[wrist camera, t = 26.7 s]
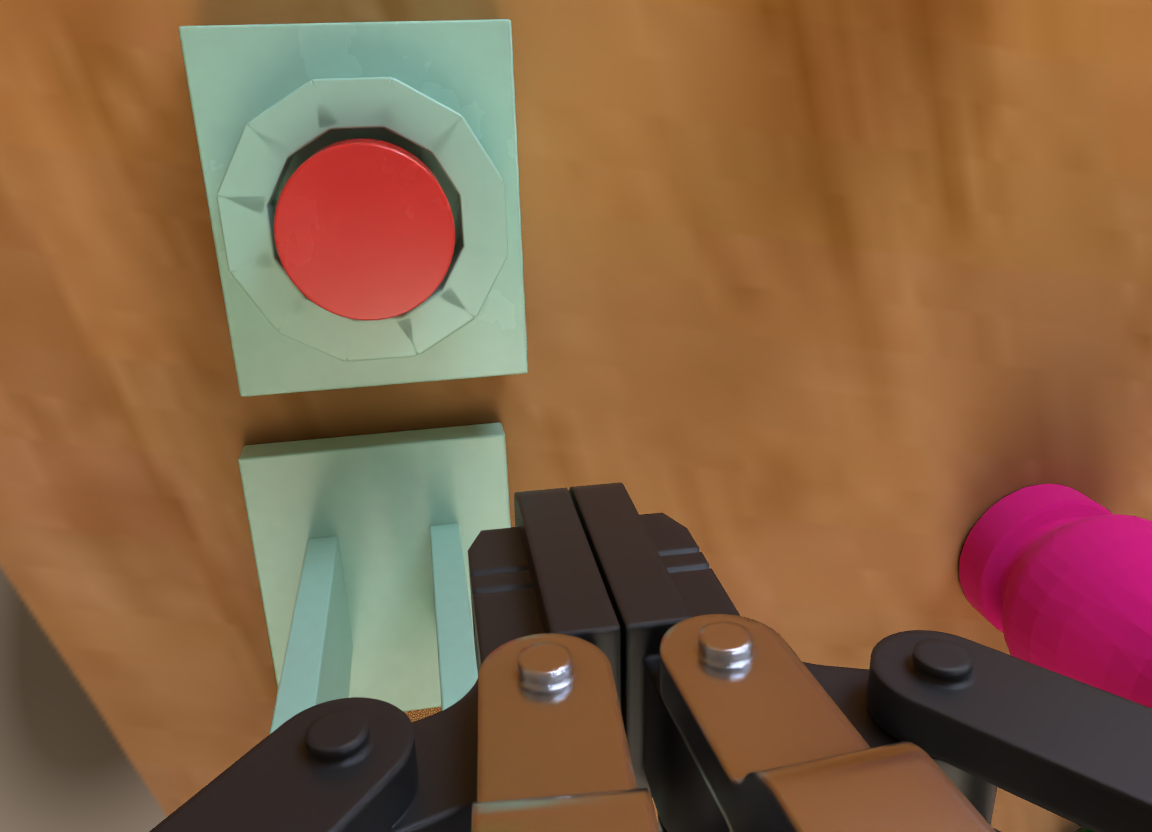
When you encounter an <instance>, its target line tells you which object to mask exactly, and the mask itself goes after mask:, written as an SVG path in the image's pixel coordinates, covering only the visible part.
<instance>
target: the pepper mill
mask: <svg viewBox="0 0 1152 832" xmlns="http://www.w3.org/2000/svg"><path fill="white" fill-rule="evenodd" d="M959 579H960V584H961V586H962V589H963V592H964V595H965V597H966V598H967V600H968V601H969V602H970V604H971V605H972V606H973V607H974V608H975V609H976V610H977V611H978V612H979V613H980V614H982V615H983V616H984V617H985V618H986V619H987V620H988V621H989V622H990V623H991V624H992V625H993V626H994V627H995V628H997V629H998V630H1000V631H1001V632H1003V633H1004V637H1005V641H1006V644H1007V646H1008V649H1009V651H1010V654H1011V655H1012V656H1013V657H1016V658H1019V659H1021V660H1024V661H1027V662H1029V663H1032V664H1035V665H1037V666H1040V667H1043V668H1045V669H1048V670H1051V671H1053V672H1056V673H1059V674H1061V675H1064V676H1067V677H1069V678H1072V679H1075V680H1077V681H1080V682H1083V683H1085V684H1088V685H1091V686H1093V687H1096V688H1099V689H1101V690H1104V691H1107V692H1110V693H1112V694H1115V695H1118V696H1120V697H1123V698H1126V699H1128V700H1131V701H1134V702H1136V703H1139V704H1142V705H1144V706H1147V707H1150V708H1152V522H1151V521H1149V520H1146V519H1142V518H1139V517H1136V516H1128V515H1116V514H1112V513H1111V512H1110V511H1109V510H1107V509H1106V508H1104V507H1103V506H1101V505H1099V504H1098V503H1096V502H1095V501H1093V500H1091V499H1090V498H1088V497H1087V496H1085V495H1083V494H1082V493H1080V492H1079V491H1076V490H1074V489H1072V488H1070V487H1066V486H1063V485H1057V484H1041V485H1035V486H1029V487H1025V488H1022V489H1020V490H1018V491H1016V492H1013V493H1011V494H1009V495H1007V496H1005V497H1004V498H1002V499H1001V500H1000V501H998V502H997V503H996V504H994V505H993V506H992V507H990V508H989V509H988V510H987V511H986V512H985V513H984V515H983V516H982V517H981V518H980V519H979V520H978V522H977V523H976V524H975V525H974V526H973V528H972V530H971V532H970V533H969V535H968V537H967V539H966V541H965V544H964V547H963V550H962V553H961V556H960V565H959Z"/></svg>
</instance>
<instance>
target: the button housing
mask: <svg viewBox="0 0 1152 832" xmlns="http://www.w3.org/2000/svg"><path fill="white" fill-rule="evenodd" d="M179 35H180V41H181V47H182V53H183V59H184V65H185V71H186V77H187V82H188V88H189V94H190V100H191V106H192V112H193V118H194V124H195V130H196V136H197V142H198V148H199V154H200V160H201V166H202V172H203V178H204V183H205V189H206V195H207V201H208V207H209V213H210V219H211V225H212V231H213V237H214V243H215V249H216V255H217V261H218V267H219V273H220V279H221V284H222V290H223V296H224V302H225V308H226V314H227V320H228V326H229V332H230V338H231V344H232V350H233V356H234V362H235V368H236V374H237V380H238V385H239V391H240V395H241V396H243V397H246V396H258V395H270V394H282V393H294V392H306V391H319V390H331V389H343V388H355V387H367V386H379V385H391V384H404V383H416V382H428V381H440V380H452V379H464V378H476V377H489V376H501V375H513V374H525V373H527V372H528V356H527V336H526V315H525V295H524V274H523V254H522V233H521V212H520V192H519V171H518V151H517V130H516V110H515V89H514V69H513V48H512V28H511V21H510V20H509V19H491V20H443V21H395V22H347V23H299V24H251V25H203V26H180V27H179ZM356 138H371V139H377V140H382V141H386V142H389V143H393V144H395V145H397V146H399V147H402V148H404V149H405V150H407V151H409V152H410V153H412V154H414V155H415V156H416V157H417V158H419V159H420V160H421V161H422V162H423V163H424V164H425V165H426V166H427V167H428V168H429V169H430V170H431V171H432V172H433V174H434V175H435V176H436V178H437V179H438V181H439V183H440V184H441V186H442V188H443V190H444V192H445V195H446V197H447V200H448V202H449V205H450V208H451V211H452V215H453V219H454V226H455V246H454V253H453V257H452V261H451V264H450V266H449V269H448V271H447V274H446V275H445V277H444V279H443V281H442V282H441V284H440V285H439V286H438V288H437V289H436V290H435V292H434V293H433V294H432V295H431V296H430V297H429V298H428V299H427V300H425V301H424V302H423V303H421V304H420V305H419V306H417V307H416V308H414V309H412V310H410V311H409V312H406V313H404V314H401V315H399V316H396V317H392V318H388V319H382V320H368V321H364V320H355V319H350V318H346V317H341V316H339V315H336V314H333V313H331V312H329V311H327V310H325V309H323V308H321V307H319V306H318V305H316V304H315V303H313V302H312V301H311V300H309V299H308V298H307V297H306V296H305V295H304V294H303V293H301V292H300V290H299V289H298V288H297V287H296V286H295V285H294V284H293V282H292V281H291V279H290V278H289V276H288V275H287V273H286V271H285V269H284V267H283V265H282V263H281V261H280V258H279V255H278V253H277V249H276V244H275V239H274V215H275V210H276V205H277V202H278V199H279V196H280V194H281V192H282V190H283V188H284V186H285V184H286V182H287V181H288V179H289V178H290V177H291V175H292V174H293V173H294V172H295V171H296V169H297V168H298V167H299V166H300V165H301V164H302V163H303V162H305V161H306V160H307V159H308V158H309V157H310V156H312V155H313V154H314V153H315V152H317V151H319V150H320V149H322V148H324V147H326V146H328V145H331V144H333V143H335V142H339V141H343V140H347V139H356Z"/></svg>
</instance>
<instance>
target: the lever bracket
mask: <svg viewBox="0 0 1152 832" xmlns="http://www.w3.org/2000/svg"><path fill="white" fill-rule="evenodd" d="M238 463H239V469H240V474H241V480H242V486H243V492H244V497H245V503H246V509H247V515H248V520H249V526H250V532H251V538H252V543H253V549H254V555H255V561H256V566H257V572H258V578H259V584H260V589H261V595H262V601H263V607H264V612H265V618H266V624H267V630H268V635H269V641H270V647H271V653H272V658H273V664H274V670H275V676H276V681H277V687H278V693H277V698H276V703H275V708H274V713H273V718H272V723H271V729H270V734H271V733H272V732H273V731H275V730H276V729H277V728H278V727H280V726H281V725H282V724H283V723H285V722H286V721H287V720H289V719H290V718H292V717H293V716H294V715H296V714H298V713H300V712H302V711H303V710H305V709H308V708H310V707H312V706H315V705H317V704H320V703H324V702H327V701H331V700H336V699H341V698H352V697H364V698H372V699H378V700H382V701H385V702H388V703H390V704H392V705H394V706H396V707H398V708H399V709H400V710H402V711H403V712H405V711H412V710H419V709H426V708H434V707H441V708H442V711H443V710H445V709H446V708H448V707H450V706H452V705H453V704H455V703H456V702H458V701H459V700H460V699H462V698H463V697H464V696H465V695H466V694H467V693H468V692H469V691H470V690H471V688H472V687H473V686H474V684H475V683H476V681H477V679H478V671H477V663H476V654H475V645H474V631H473V618H472V604H471V590H470V576H469V562H468V549H469V548H470V546H471V545H472V543H473V542H474V540H475V539H476V537H477V536H478V534H479V533H480V531H481V530H492V529H502V528H511V524H510V507H509V490H508V474H507V457H506V440H505V433H504V430H503V426H502V424H501V423H500V422H499V423H488V424H477V425H466V426H455V427H444V428H433V429H422V430H410V431H399V432H388V433H377V434H366V435H355V436H344V437H333V438H322V439H311V440H300V441H289V442H278V443H267V444H256V445H245V446H244V447H243V449H242V452H241V454H240V456H239V459H238ZM270 734H269V735H270Z"/></svg>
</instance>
